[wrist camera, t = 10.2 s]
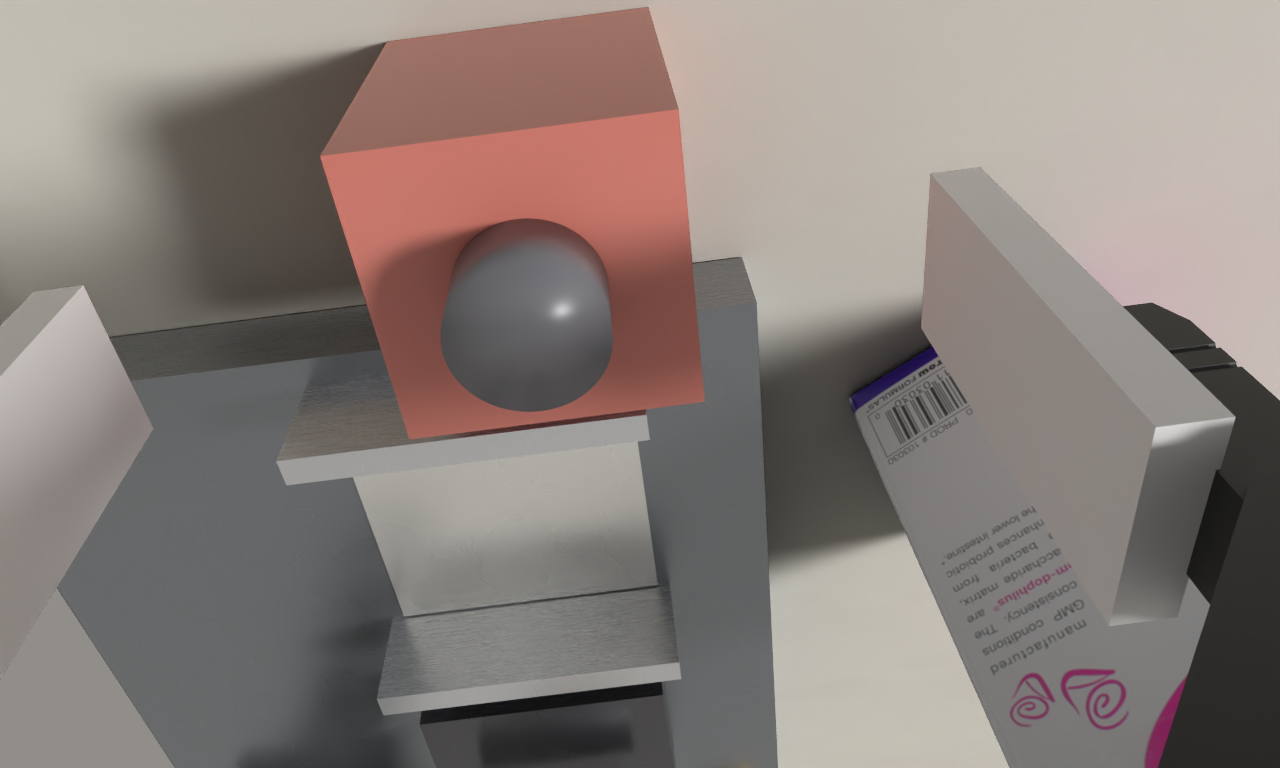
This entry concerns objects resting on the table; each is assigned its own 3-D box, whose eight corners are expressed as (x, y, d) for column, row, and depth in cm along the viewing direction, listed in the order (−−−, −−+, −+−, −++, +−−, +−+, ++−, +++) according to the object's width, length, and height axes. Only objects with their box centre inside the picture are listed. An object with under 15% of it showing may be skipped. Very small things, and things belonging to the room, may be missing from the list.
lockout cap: (387, 40, 18) (293, 199, 12) (648, 6, 18) (689, 147, 12) (447, 272, 21) (396, 498, 15) (672, 243, 21) (716, 457, 15)
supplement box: (949, 529, 26) (1162, 976, 17) (841, 394, 23) (1025, 841, 14) (1150, 421, 25) (1513, 853, 15) (1059, 261, 22) (1437, 669, 12)
